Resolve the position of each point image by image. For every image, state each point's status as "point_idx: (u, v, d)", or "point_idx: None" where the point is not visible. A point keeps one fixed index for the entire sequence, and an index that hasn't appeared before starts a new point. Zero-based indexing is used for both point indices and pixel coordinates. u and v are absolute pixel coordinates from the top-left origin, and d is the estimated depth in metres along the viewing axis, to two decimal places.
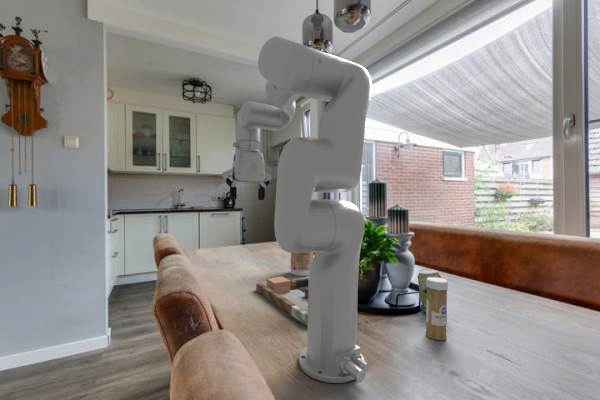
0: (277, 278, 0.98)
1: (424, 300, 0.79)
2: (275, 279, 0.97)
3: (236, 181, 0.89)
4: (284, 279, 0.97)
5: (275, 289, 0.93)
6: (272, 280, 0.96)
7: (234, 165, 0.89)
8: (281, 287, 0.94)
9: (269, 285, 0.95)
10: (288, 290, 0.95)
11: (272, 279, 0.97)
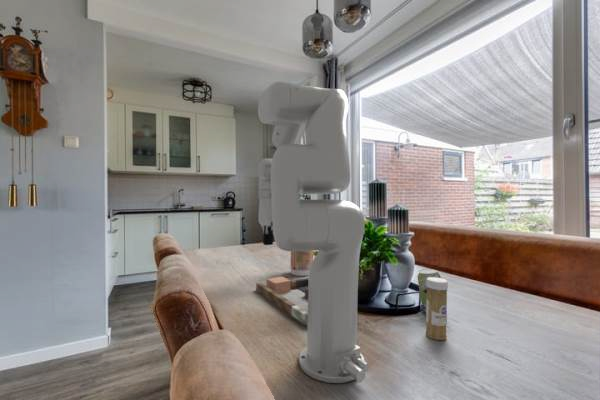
0: (277, 278, 0.98)
1: (424, 300, 0.79)
2: (274, 279, 0.97)
3: None
4: (284, 279, 0.97)
5: (275, 289, 0.93)
6: (272, 280, 0.96)
7: None
8: (281, 287, 0.94)
9: (270, 286, 0.95)
10: (288, 290, 0.95)
11: (272, 279, 0.97)
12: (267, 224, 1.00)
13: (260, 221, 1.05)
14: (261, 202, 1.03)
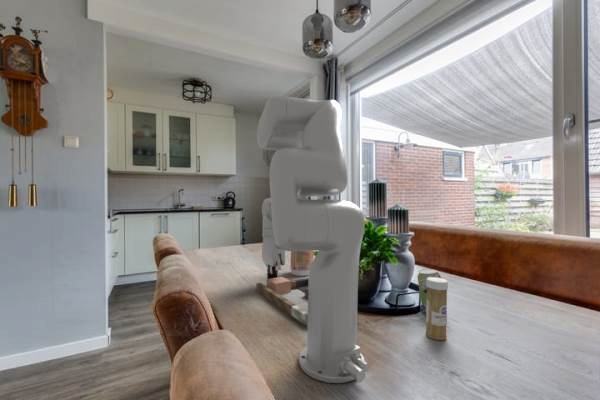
0: (277, 278, 0.98)
1: (424, 300, 0.79)
2: (275, 279, 0.97)
3: None
4: (284, 279, 0.97)
5: (276, 289, 0.92)
6: (272, 280, 0.95)
7: (281, 252, 0.97)
8: (281, 287, 0.93)
9: (270, 286, 0.95)
10: (289, 290, 0.95)
11: (272, 279, 0.96)
12: (271, 264, 0.97)
13: (264, 259, 1.02)
14: (265, 240, 1.00)
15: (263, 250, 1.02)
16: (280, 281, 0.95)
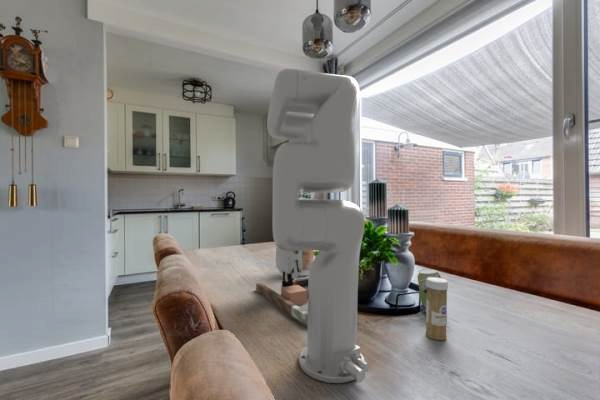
0: (293, 287, 0.88)
1: (424, 300, 0.79)
2: (290, 287, 0.87)
3: None
4: (300, 288, 0.87)
5: (290, 300, 0.83)
6: (287, 289, 0.86)
7: (297, 258, 0.87)
8: (296, 297, 0.84)
9: (284, 295, 0.86)
10: (305, 301, 0.85)
11: (287, 288, 0.87)
12: (287, 271, 0.87)
13: (278, 266, 0.92)
14: None
15: (277, 255, 0.92)
16: (295, 290, 0.85)
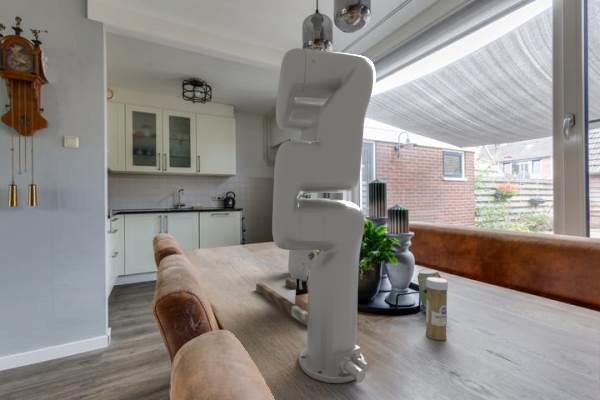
0: (307, 295, 0.81)
1: (424, 300, 0.79)
2: (305, 296, 0.80)
3: None
4: None
5: (307, 310, 0.76)
6: (302, 298, 0.79)
7: None
8: None
9: (299, 305, 0.78)
10: None
11: (302, 296, 0.80)
12: (302, 278, 0.80)
13: (291, 272, 0.85)
14: None
15: (290, 261, 0.85)
16: None
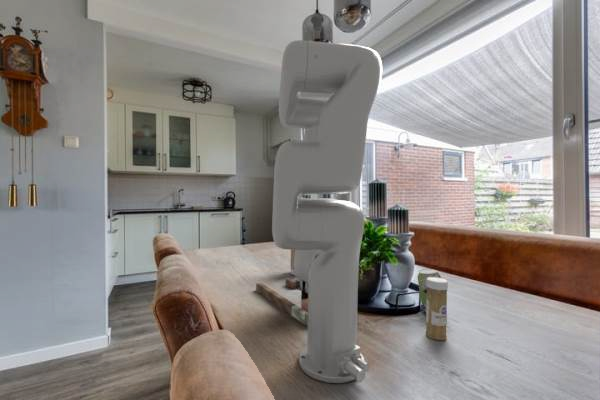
0: None
1: (424, 300, 0.79)
2: None
3: None
4: None
5: None
6: None
7: None
8: None
9: (306, 309, 0.76)
10: None
11: None
12: None
13: (297, 274, 0.82)
14: (299, 251, 0.81)
15: (296, 263, 0.82)
16: None
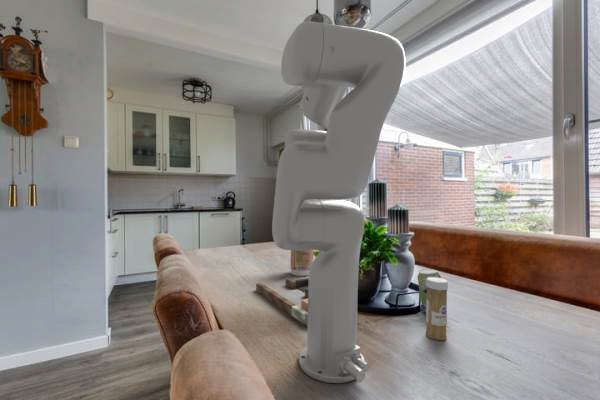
0: None
1: (424, 300, 0.79)
2: None
3: None
4: None
5: None
6: None
7: None
8: None
9: (306, 309, 0.76)
10: None
11: None
12: None
13: None
14: None
15: None
16: None
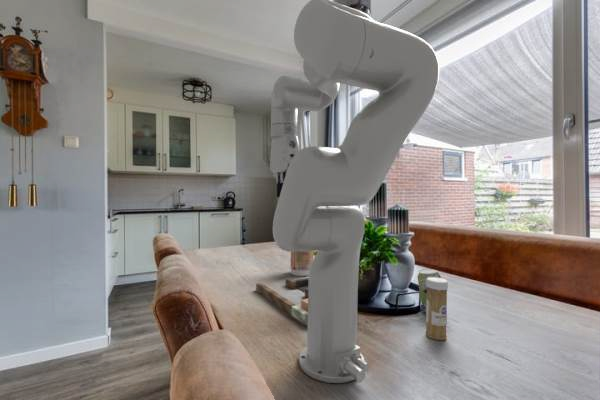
0: None
1: (424, 300, 0.79)
2: None
3: None
4: None
5: None
6: None
7: (294, 153, 0.76)
8: None
9: (306, 309, 0.75)
10: None
11: None
12: (283, 168, 0.76)
13: (272, 168, 0.81)
14: (274, 142, 0.80)
15: (271, 156, 0.81)
16: None
